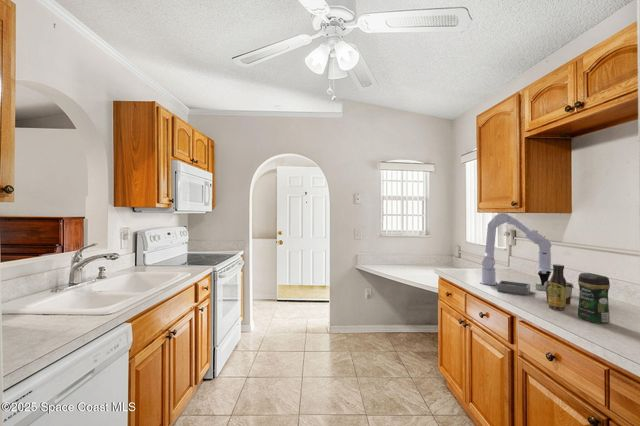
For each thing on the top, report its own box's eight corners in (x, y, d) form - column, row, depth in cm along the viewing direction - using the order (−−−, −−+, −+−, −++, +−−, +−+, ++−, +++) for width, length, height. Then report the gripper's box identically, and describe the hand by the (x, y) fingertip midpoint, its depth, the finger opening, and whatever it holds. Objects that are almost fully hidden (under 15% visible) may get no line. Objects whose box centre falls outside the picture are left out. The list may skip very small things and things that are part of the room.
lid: (530, 287, 191) (530, 280, 191) (561, 291, 182) (561, 283, 182) (527, 291, 181) (527, 283, 181) (560, 295, 172) (560, 287, 172)
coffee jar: (573, 316, 134) (573, 271, 134) (591, 316, 134) (591, 271, 134) (595, 324, 124) (595, 276, 124) (614, 324, 125) (614, 276, 125)
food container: (565, 301, 157) (565, 280, 157) (573, 305, 151) (573, 283, 151) (538, 300, 158) (538, 280, 158) (545, 304, 152) (545, 282, 152)
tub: (501, 287, 186) (501, 280, 186) (530, 291, 178) (530, 283, 178) (497, 291, 177) (497, 284, 177) (527, 295, 168) (527, 287, 168)
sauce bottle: (544, 307, 146) (545, 263, 147) (554, 306, 149) (554, 263, 149) (560, 311, 140) (560, 266, 140) (569, 310, 143) (569, 265, 143)
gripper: (552, 262, 173) (552, 288, 173) (554, 259, 184) (554, 283, 184) (536, 261, 177) (536, 286, 177) (539, 258, 189) (539, 281, 189)
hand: (544, 284), depth 181 cm, fingers open, 5 cm apart
